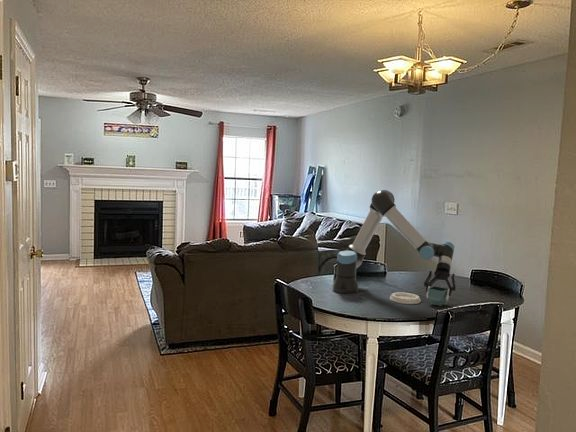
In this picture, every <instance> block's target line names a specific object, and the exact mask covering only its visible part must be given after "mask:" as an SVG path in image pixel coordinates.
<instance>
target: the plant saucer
mask: <svg viewBox="0 0 576 432" xmlns="http://www.w3.org/2000/svg"><path fill="white" fill-rule="evenodd" d="M389 300H390V301H392V302H394V303H397V304H404V305H417V304H421V301H422V300H421V298H420V296H419V295H418V294H416V293H415V294H414V293H412V292H411V293H410V292H403V291H402V292H400V291H399V292H393V293H391V295H390V296H389Z"/></svg>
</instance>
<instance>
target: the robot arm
mask: <svg viewBox="0 0 576 432" xmlns="http://www.w3.org/2000/svg"><path fill="white" fill-rule="evenodd" d="M369 209H370V210H369V212H368V214H367V216H366V218H365V220H364V221H363V224H362V225H361V227H360V230H359V232H358V233H357V235H356V237H355V238H354V240H353V242H352V243H351V244H349V245H348V247H347V249H345V250H342V251H341V250H340V251H339V252H338V253H337V257H336V276H335V280H334V283H333V286H332V291H334V292H335V293H338V294H339V293H340V294H348V295H349V294H356V293H359V286H358V282H357V281H358V280H357V269H358V268H359V267H360V266H361V265H362V264H363V261H364V258H365V256H366V255H367V253H366V249H367V247H368V246H369V244H370V242H371V240H372V238H373V236H374V234H375V232H376V230H377V229H378V227H379V225H380V224H381V221H382V219H383V218H387V219H388V221H389V222H390V223H391V224H392V225H393V226H394V227H395V228H396V229H397V231H399V233H401V235H402V236H403V237H404V238H405V239H406V240H407V242H409V243H410V244H411V245H412V247H413V248H414V249H415V250H416V251H417V252H418V253H419V255H420V257H421V258H422V259H424V260H430V259H432V258H433V257H435V258H437V263H436V268H435V271H432V270H429V273H428V275H427V277H426V279H425V280H424V282H423V287H424V288H425V292H426V299H427V300H429V296H428V288H431V287H433V285H434V284H435V283H436V282H437V281H444V282H445V284H446V285H447V287H448V288H447V289H448V292H447V297H446V302H449V297H450V296H452V292H453V291H454V292H456V288H457V287H456V282H455V279H456V275H455V273H451V268H452V267H451V266H452V261H453V257H454V251H455V245H454V244H453V243H452V242H451V241H443V242H442V243H441V244H439V243H435V242H429V241H427V240H426V238H425V237H423V235H421V233H420V232H419V231H418V230H417V229H416V228H415V227H414V225H412V224H411V223H410V221H409V220H407V218H406V217H405V216H404V215H403V214H402V213H401V212H400V211H399V210H398V209H397V205H396V204H395V196H394V194H393V192H391V191H390V190H387V189H382V190H378V191H375V193H374V194H372V197H371V203H370V205H369ZM433 276H434V277H433ZM432 277H433V278H432ZM449 277H450V279H451V282H452V285H451V283H450V281H449V279H448V278H449Z"/></svg>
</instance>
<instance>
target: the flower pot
mask: <svg viewBox="0 0 576 432" xmlns="http://www.w3.org/2000/svg"><path fill="white" fill-rule="evenodd" d="M448 289H449V288H447V287H446V288H445V287H441V286H431V287H430V288H428V296H429V298H428V300H429V302H430V304H431V305H433V306H434V305H435V306H438V307H439V306H440V307H441V306H443V305H445V303H446V302H447V301H446V297H447V292H448Z"/></svg>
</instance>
